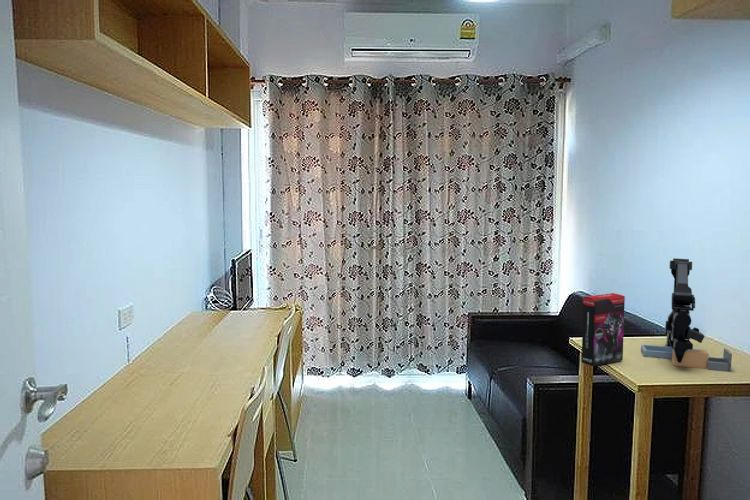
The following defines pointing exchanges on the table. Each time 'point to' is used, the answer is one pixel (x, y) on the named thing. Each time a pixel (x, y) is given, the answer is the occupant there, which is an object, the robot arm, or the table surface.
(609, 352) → the graphics card box
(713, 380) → the table surface
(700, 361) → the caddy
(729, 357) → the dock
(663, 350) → the tray
